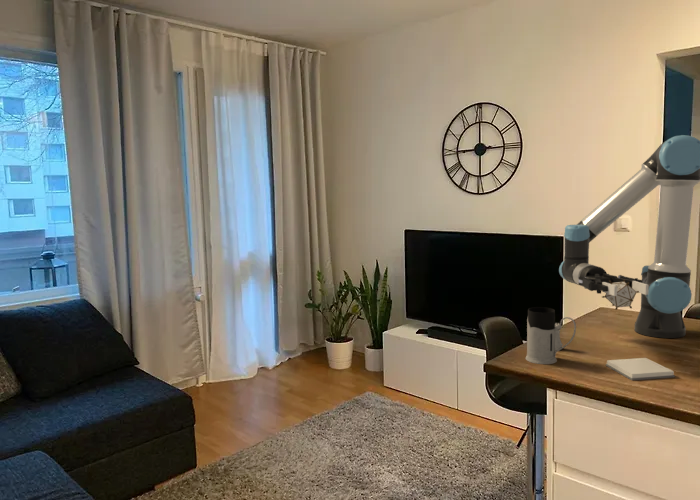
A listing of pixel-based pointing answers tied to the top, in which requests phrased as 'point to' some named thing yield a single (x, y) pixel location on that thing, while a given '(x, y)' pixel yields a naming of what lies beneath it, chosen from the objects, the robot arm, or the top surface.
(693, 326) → the top surface
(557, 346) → the rook chess piece
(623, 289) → the game die
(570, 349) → the top surface
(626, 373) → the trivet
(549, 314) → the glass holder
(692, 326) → the top surface
